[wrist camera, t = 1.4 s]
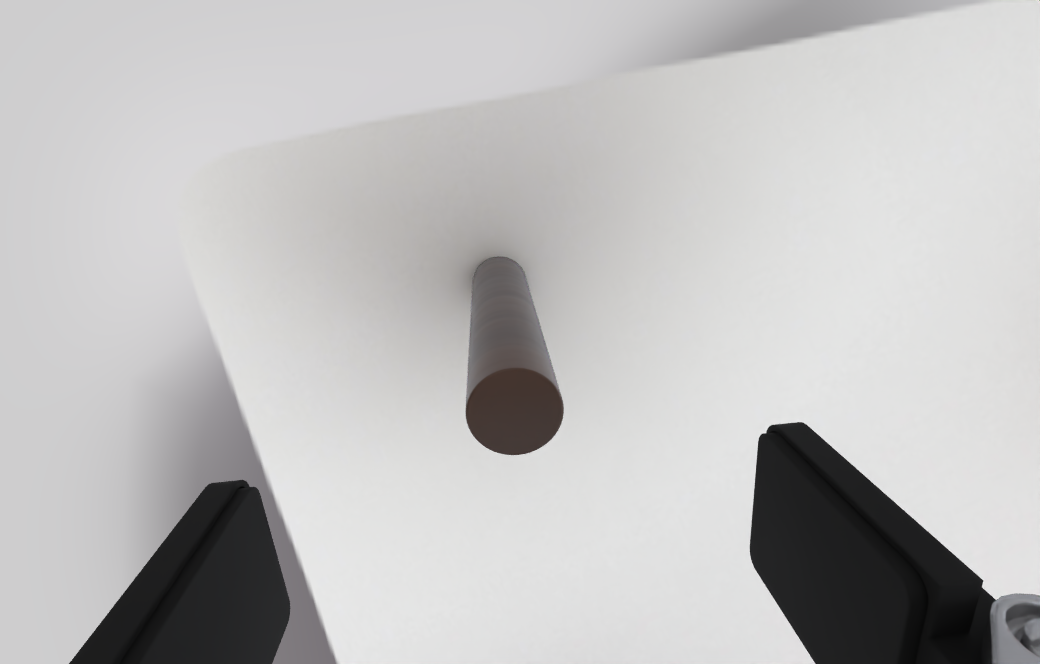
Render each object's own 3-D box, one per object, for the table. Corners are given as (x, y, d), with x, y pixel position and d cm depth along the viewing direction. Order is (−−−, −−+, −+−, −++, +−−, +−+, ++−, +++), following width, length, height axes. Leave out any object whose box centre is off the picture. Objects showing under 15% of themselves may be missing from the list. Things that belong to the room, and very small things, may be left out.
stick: (469, 258, 24) (460, 373, 13) (524, 254, 24) (561, 363, 13) (475, 311, 25) (471, 460, 14) (528, 306, 25) (566, 451, 14)
